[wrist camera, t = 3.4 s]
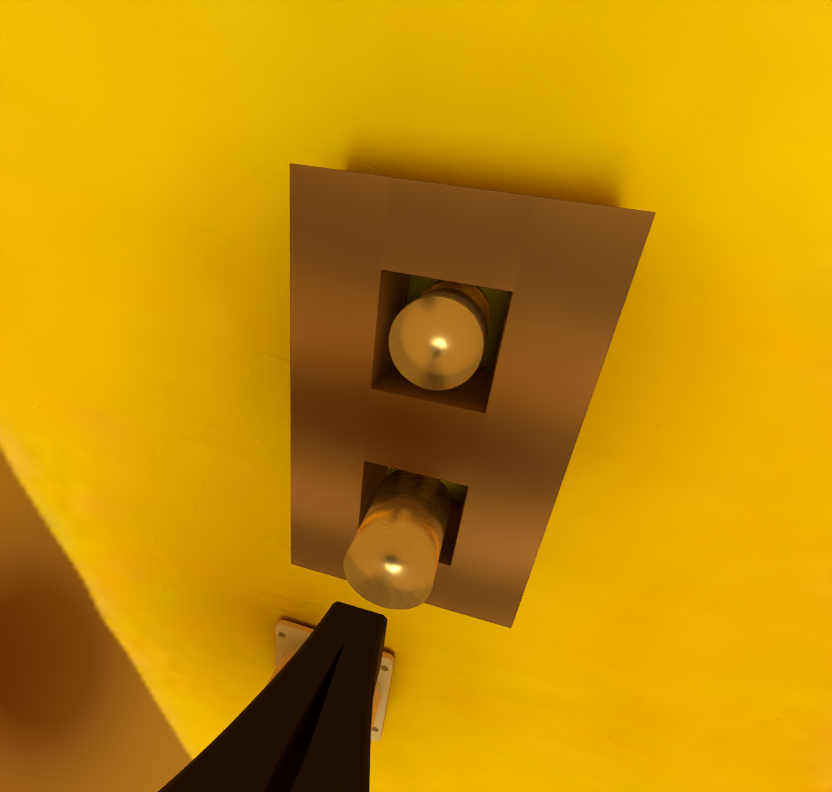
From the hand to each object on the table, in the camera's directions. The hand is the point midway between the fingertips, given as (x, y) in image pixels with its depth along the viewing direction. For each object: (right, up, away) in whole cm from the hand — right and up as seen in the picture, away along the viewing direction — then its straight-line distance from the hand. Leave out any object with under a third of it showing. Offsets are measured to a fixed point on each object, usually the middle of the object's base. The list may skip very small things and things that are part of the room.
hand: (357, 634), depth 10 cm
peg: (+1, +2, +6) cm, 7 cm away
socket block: (+3, +6, +8) cm, 10 cm away
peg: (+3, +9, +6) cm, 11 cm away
